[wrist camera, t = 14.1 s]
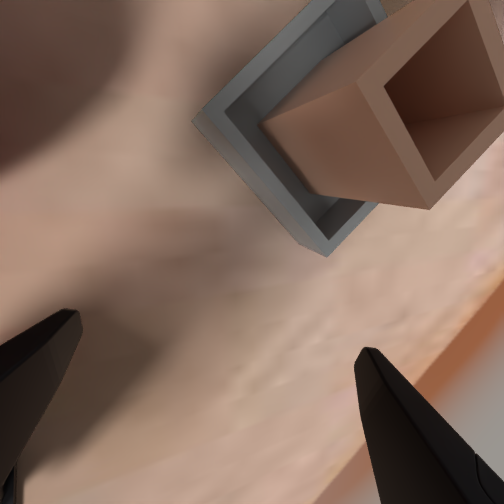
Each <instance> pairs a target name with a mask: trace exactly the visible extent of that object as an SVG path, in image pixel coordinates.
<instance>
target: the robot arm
mask: <svg viewBox="0 0 504 504" xmlns="http://www.w3.org/2000/svg"><path fill="white" fill-rule="evenodd" d="M82 331H83V328H82V323H81V318H80V313H79V311H78V310H76V309H68V308H64V309H61V310H59V311H58V312H56V313H54V314H52V315H51V316H49V317H47V318H46V319H44V320H42V321H41V322H39V323H37V324H36V325H34V326H32V327H30V328H29V329H27V330H25V331H24V332H22V333H20V334H19V335H17V336H15V337H14V338H12V339H10V340H8V341H7V342H5V343H3V344H2V345H0V504H16V465H17V459H18V457H19V456H20V454H21V452H22V450H23V449H24V447H25V445H26V443H27V441H28V440H29V438H30V436H31V434H32V433H33V431H34V429H35V427H36V426H37V424H38V422H39V420H40V419H41V417H42V415H43V413H44V412H45V410H46V408H47V406H48V405H49V403H50V401H51V399H52V398H53V396H54V394H55V392H56V391H57V389H58V387H59V385H60V383H61V381H62V379H63V377H64V374H65V372H66V370H67V368H68V365H69V363H70V361H71V358H72V356H73V354H74V352H75V349H76V347H77V345H78V342H79V340H80V338H81V335H82ZM354 372H355V380H356V387H357V395H358V403H359V410H360V416H361V421H362V426H363V430H364V434H365V438H366V442H367V447H368V451H369V455H370V459H371V463H372V468H373V472H374V476H375V480H376V484H377V488H378V493H379V497H380V501H381V504H504V482H503V480H502V479H501V478H500V477H499V476H498V475H497V474H496V473H495V472H494V471H493V470H492V469H491V468H490V467H489V466H488V465H487V464H486V463H485V462H484V461H483V459H482V458H481V457H480V456H479V455H478V454H475V452H474V450H473V449H472V448H471V447H470V446H469V445H468V444H467V443H466V442H465V441H464V439H463V438H462V437H461V436H459V434H458V433H457V432H456V431H455V430H454V429H453V428H452V427H451V426H450V425H449V424H448V423H447V422H446V420H445V419H444V418H443V417H442V416H441V415H440V414H439V413H438V412H437V411H436V410H435V409H434V408H433V407H432V406H431V405H430V404H429V403H428V401H426V399H424V397H423V396H422V395H421V394H420V393H419V392H418V391H417V390H416V389H415V388H414V387H413V386H412V385H411V384H410V382H409V381H408V380H407V379H406V378H405V377H404V376H403V375H402V374H401V373H400V372H399V371H398V370H397V369H396V368H395V367H394V366H393V365H392V363H391V362H390V361H389V360H388V359H387V358H386V357H385V356H384V355H383V354H382V353H381V352H380V351H379V350H378V349H376V348H372V347H364V348H363V349H362V350H361V352H360V354H359V356H358V358H357V359H356V361H355V364H354Z"/></svg>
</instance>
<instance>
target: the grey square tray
mask: <svg viewBox="0 0 504 504" xmlns="http://www.w3.org/2000/svg"><path fill="white" fill-rule="evenodd" d="M386 18H387V15H386V13H385V10H384V8H383V6H382V4H381V2H380V0H312V1H311V2H310V3H309V4H308V5H307V6H306V7H305V8H304V9H303V10H302V11H301V12H300V13H299V14H298V15H297V16H296V17H295V18H294V19H293V20H292V21H291V22H290V23H289V24H288V25H287V26H286V27H285V28H284V29H282V30H281V31H280V32H279V33H278V34H277V35H276V36H275V37H274V38H273V39H272V40H271V41H270V42H269V43H268V44H267V45H266V46H265V47H264V48H263V49H262V50H261V51H260V52H259V53H258V54H257V55H256V56H255V57H254V58H253V59H252V60H251V61H250V62H249V63H248V64H247V65H246V66H245V67H244V68H243V69H242V70H241V71H240V72H239V73H238V74H237V75H236V76H235V77H234V78H233V79H232V80H231V81H230V82H229V83H228V84H227V85H226V86H225V87H224V88H223V89H222V90H221V91H220V92H219V93H218V94H217V95H216V96H214V97H213V98H212V99H211V100H210V101H209V102H208V103H207V104H206V105H205V106H204V107H203V108H202V109H201V111H200V112H199V113H198V114H197V115H196V117H195V118H194V119H193V120H192V121H191V122H192V123H193V124H194V125H195V126H196V127H197V128H198V129H199V131H200V132H201V133H202V134H203V135H204V136H205V137H206V139H207V140H208V141H209V142H210V143H211V144H212V145H213V147H214V148H215V149H216V150H217V151H218V152H219V153H220V155H221V156H222V157H223V158H224V159H225V160H226V161H227V163H228V164H229V165H230V166H231V167H232V168H233V169H234V170H235V172H236V173H237V174H238V175H239V176H240V177H241V178H242V180H243V181H244V182H245V183H246V184H247V185H248V186H249V188H250V189H251V190H252V191H253V192H254V193H255V194H256V196H257V197H258V198H259V199H260V200H261V201H262V202H263V204H264V205H265V206H266V207H267V208H268V209H269V210H270V212H271V213H272V214H273V215H274V216H275V217H276V218H277V219H278V221H279V222H280V223H281V224H282V225H283V226H284V227H285V229H286V230H287V231H288V232H289V233H290V234H291V235H292V237H293V238H294V239H295V240H296V241H297V242H298V243H299V244H300V245H302V246H304V247H306V248H308V249H310V250H312V251H314V252H316V253H319V254H321V255H323V256H325V257H328V256H329V255H330V254H331V253H332V252H333V251H334V250H335V249H336V248H337V247H338V246H339V244H340V243H341V242H342V241H343V240H344V239H345V238H346V237H347V236H348V235H349V234H350V233H351V232H352V231H353V230H354V229H355V228H356V227H357V226H358V225H359V224H360V222H361V221H362V220H363V219H364V218H365V217H366V216H367V215H368V214H369V213H370V212H371V211H372V210H373V209H374V208H375V207H376V206H377V205H378V204H379V203H376V202H368V201H361V200H354V199H346V198H339V197H332V196H324V195H317V194H310V193H309V192H308V190H307V189H306V188H305V186H304V185H303V184H302V182H301V181H300V180H299V179H298V177H297V176H296V175H295V173H294V172H293V171H292V170H291V168H290V167H289V166H288V164H287V163H286V162H285V161H284V159H283V158H282V157H281V155H280V154H279V153H278V152H277V150H276V149H275V148H274V146H273V145H272V144H271V143H270V141H269V140H268V139H267V137H266V136H265V135H264V134H263V132H262V131H261V130H260V128H259V127H258V126H257V124H258V123H259V122H260V121H261V120H262V119H263V118H264V117H265V116H266V115H267V114H268V113H269V112H270V111H271V110H272V109H273V108H274V107H275V106H276V105H277V104H278V103H279V102H280V101H281V100H282V99H283V98H284V97H285V96H286V95H287V94H288V93H289V92H290V91H291V90H292V89H293V88H294V87H295V86H296V85H297V84H298V83H299V82H300V81H301V80H302V79H303V78H304V77H305V76H306V75H307V74H308V73H309V72H310V71H311V70H312V69H313V68H314V67H315V66H316V65H317V64H318V63H319V62H320V61H321V60H323V59H324V58H326V57H327V56H329V55H330V54H332V53H333V52H335V51H336V50H338V49H340V48H341V47H343V46H344V45H346V44H347V43H349V42H350V41H352V40H353V39H355V38H357V37H358V36H360V35H361V34H363V33H364V32H366V31H367V30H369V29H370V28H372V27H374V26H375V25H377V24H378V23H380V22H381V21H383V20H384V19H386Z"/></svg>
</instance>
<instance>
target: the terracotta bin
mask: <svg viewBox="0 0 504 504" xmlns="http://www.w3.org/2000/svg"><path fill="white" fill-rule="evenodd" d="M257 126H258V127H259V128H260V130H261V131H262V132H263V134H264V135H265V136H266V137H267V139H268V140H269V141H270V143H271V144H272V145H273V146H274V148H275V149H276V150H277V152H278V153H279V154H280V155H281V157H282V158H283V159H284V161H285V162H286V163H287V164H288V166H289V167H290V168H291V170H292V171H293V172H294V173H295V175H296V176H297V177H298V179H299V180H300V181H301V182H302V184H303V185H304V186H305V188H306V189H307V190H308V192H309V193H310V194H317V195H324V196H332V197H339V198H346V199H354V200H361V201H368V202H376V203H383V204H390V205H398V206H405V207H412V208H420V209H427V210H430V209H431V208H432V207H433V206H434V205H435V204H436V203H437V202H438V201H439V199H440V198H441V197H442V196H443V195H444V194H445V193H446V192H447V191H448V190H449V189H450V188H451V187H452V186H453V185H454V184H455V182H456V181H457V180H458V179H459V178H460V177H461V176H462V175H463V174H464V173H465V172H466V171H467V170H468V169H469V168H470V167H471V166H472V164H473V163H474V162H475V161H476V160H477V159H478V158H479V157H480V156H481V155H482V154H483V153H484V152H485V151H486V150H487V149H488V148H489V146H490V145H491V144H492V143H493V142H494V141H495V140H496V139H497V138H498V137H499V136H500V135H501V134H502V133H503V132H504V44H503V41H502V38H501V35H500V33H499V30H498V27H497V24H496V21H495V18H494V15H493V12H492V9H491V6H490V3H489V0H414V1H412V2H411V3H409V4H407V5H406V6H404V7H403V8H401V9H400V10H398V11H397V12H395V13H394V14H392V15H390V16H389V17H387V18H386V19H384V20H383V21H381V22H380V23H378V24H377V25H375V26H374V27H372V28H370V29H369V30H367V31H366V32H364V33H363V34H361V35H360V36H358V37H357V38H355V39H353V40H352V41H350V42H349V43H347V44H346V45H344V46H343V47H341V48H340V49H338V50H336V51H335V52H333V53H332V54H330V55H329V56H327V57H326V58H324V59H323V60H321V61H320V62H319V63H318V64H317V65H316V66H315V67H314V68H313V69H312V70H311V71H310V72H309V73H308V74H307V75H306V76H305V77H304V78H303V79H302V80H301V81H300V82H299V83H298V84H297V85H296V86H295V87H294V88H293V89H292V90H291V91H290V92H289V93H288V94H287V95H286V96H285V97H284V98H283V99H282V100H281V101H280V102H279V103H278V104H277V105H276V106H275V107H274V108H273V109H272V110H271V111H270V112H269V113H268V114H267V115H266V116H265V117H264V118H263V119H262V120H261V121H260V122H259V123H258V124H257Z"/></svg>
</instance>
